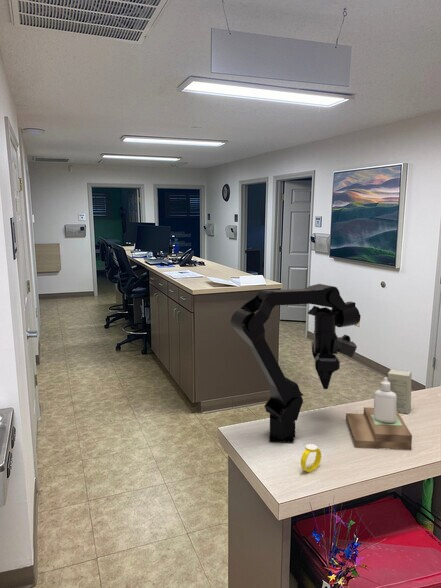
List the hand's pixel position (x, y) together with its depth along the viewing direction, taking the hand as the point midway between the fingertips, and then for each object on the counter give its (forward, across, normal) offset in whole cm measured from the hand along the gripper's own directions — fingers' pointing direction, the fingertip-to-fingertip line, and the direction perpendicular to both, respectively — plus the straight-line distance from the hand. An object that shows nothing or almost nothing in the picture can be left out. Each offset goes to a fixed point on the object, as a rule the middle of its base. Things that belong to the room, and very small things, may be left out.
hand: (324, 382), depth 124 cm
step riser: (+13, -4, -14) cm, 19 cm away
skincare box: (+13, +12, -24) cm, 30 cm away
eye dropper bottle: (+9, -4, -16) cm, 19 cm away
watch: (+13, -23, +5) cm, 27 cm away
